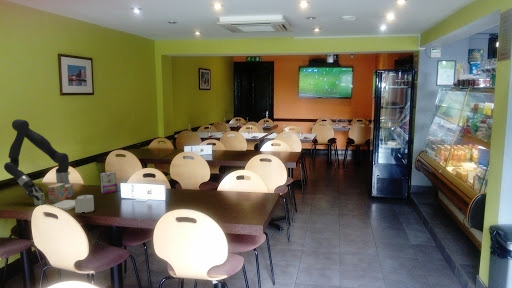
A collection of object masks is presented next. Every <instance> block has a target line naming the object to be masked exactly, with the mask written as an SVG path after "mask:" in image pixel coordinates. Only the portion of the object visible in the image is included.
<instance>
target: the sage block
mask: <svg viewBox="0 0 512 288" xmlns="http://www.w3.org/2000/svg"><path fill="white" fill-rule="evenodd" d="M36 196H38V197H39V198H40V200H39V201H37V200H36V199H35V198H33V200H34V201H33V202H34V203H33V204H34V206H39V205H41V204H43V205H46V196H45V193H44V192H43V193H37V194H36ZM41 206H42V205H41Z"/></svg>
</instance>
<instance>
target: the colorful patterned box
mask: <svg viewBox="0 0 512 288" xmlns="http://www.w3.org/2000/svg"><path fill="white" fill-rule="evenodd" d="M73 187H74V186H73V184H70V185H65V183H58V184H57V183H55V184H52V185H50V186H47V194H48V203H53V204H56V203H59V202H61V201H63V200H67V199H68V198H72V197H73V196H74V189H73Z"/></svg>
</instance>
